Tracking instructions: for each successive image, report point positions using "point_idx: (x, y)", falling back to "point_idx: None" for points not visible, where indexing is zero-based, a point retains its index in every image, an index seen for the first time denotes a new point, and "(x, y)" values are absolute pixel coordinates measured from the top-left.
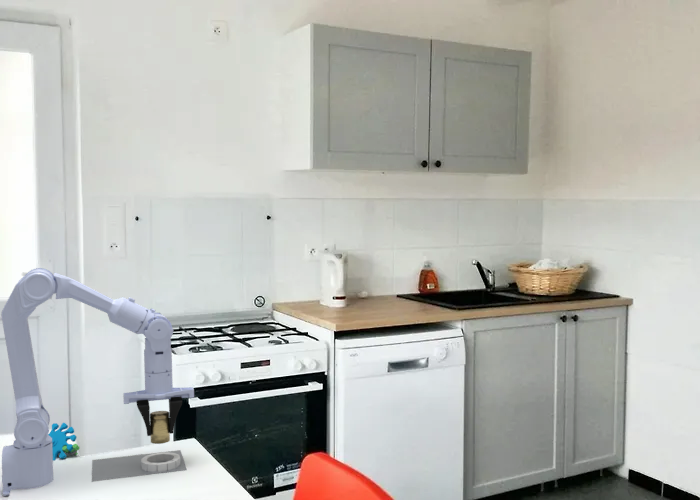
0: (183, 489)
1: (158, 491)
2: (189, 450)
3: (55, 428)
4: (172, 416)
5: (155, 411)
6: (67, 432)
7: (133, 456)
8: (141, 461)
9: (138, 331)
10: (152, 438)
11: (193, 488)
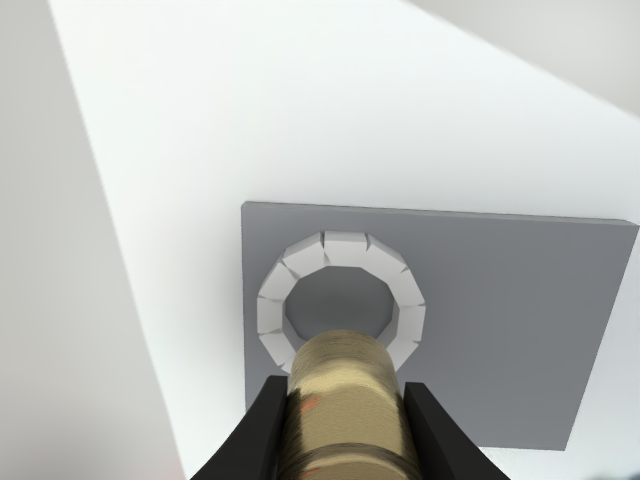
0: (279, 17)
1: (388, 39)
2: (215, 447)
3: None
4: (247, 460)
5: None
6: None
7: None
8: (424, 312)
9: None
10: (392, 370)
11: (234, 10)
